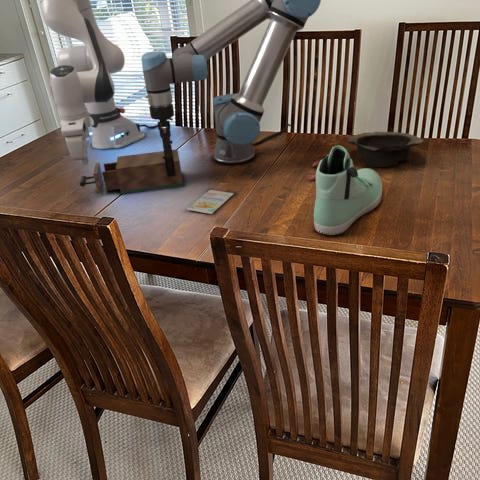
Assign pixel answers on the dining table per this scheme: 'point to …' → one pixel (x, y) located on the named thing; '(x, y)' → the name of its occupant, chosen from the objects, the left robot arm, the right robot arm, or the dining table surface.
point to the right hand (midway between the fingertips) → (170, 169)
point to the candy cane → (315, 173)
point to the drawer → (103, 177)
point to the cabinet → (147, 172)
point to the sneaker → (343, 192)
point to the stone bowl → (384, 147)
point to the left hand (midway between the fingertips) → (85, 163)
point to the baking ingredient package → (210, 201)
